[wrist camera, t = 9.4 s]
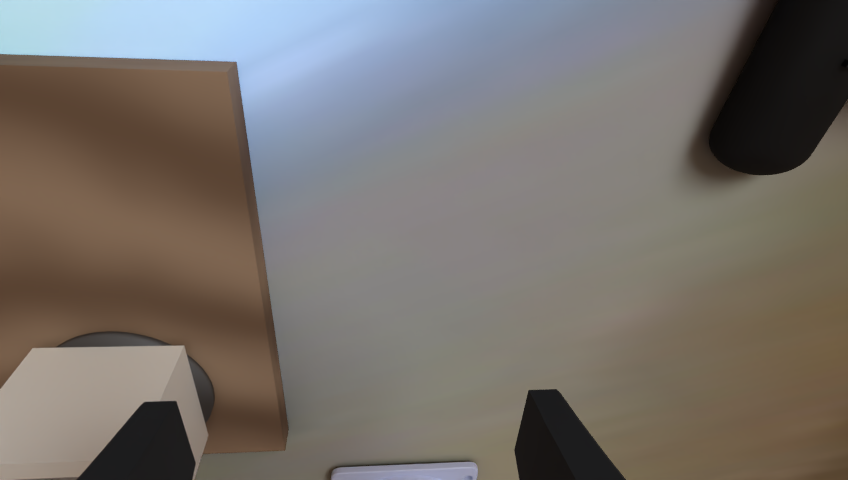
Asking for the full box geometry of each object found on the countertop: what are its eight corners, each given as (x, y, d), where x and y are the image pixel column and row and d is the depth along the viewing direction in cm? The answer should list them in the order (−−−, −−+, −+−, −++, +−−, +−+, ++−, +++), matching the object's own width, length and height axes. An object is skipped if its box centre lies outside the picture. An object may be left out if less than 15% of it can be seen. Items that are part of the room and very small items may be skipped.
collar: (208, 435, 23) (171, 551, 19) (77, 439, 23) (9, 559, 18) (184, 345, 20) (134, 459, 16) (32, 348, 20) (-61, 466, 15)
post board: (288, 429, 26) (265, 568, 20) (34, 438, 24) (-64, 589, 19) (236, 62, 16) (164, 138, 10) (-189, 48, 15) (-517, 126, 9)
